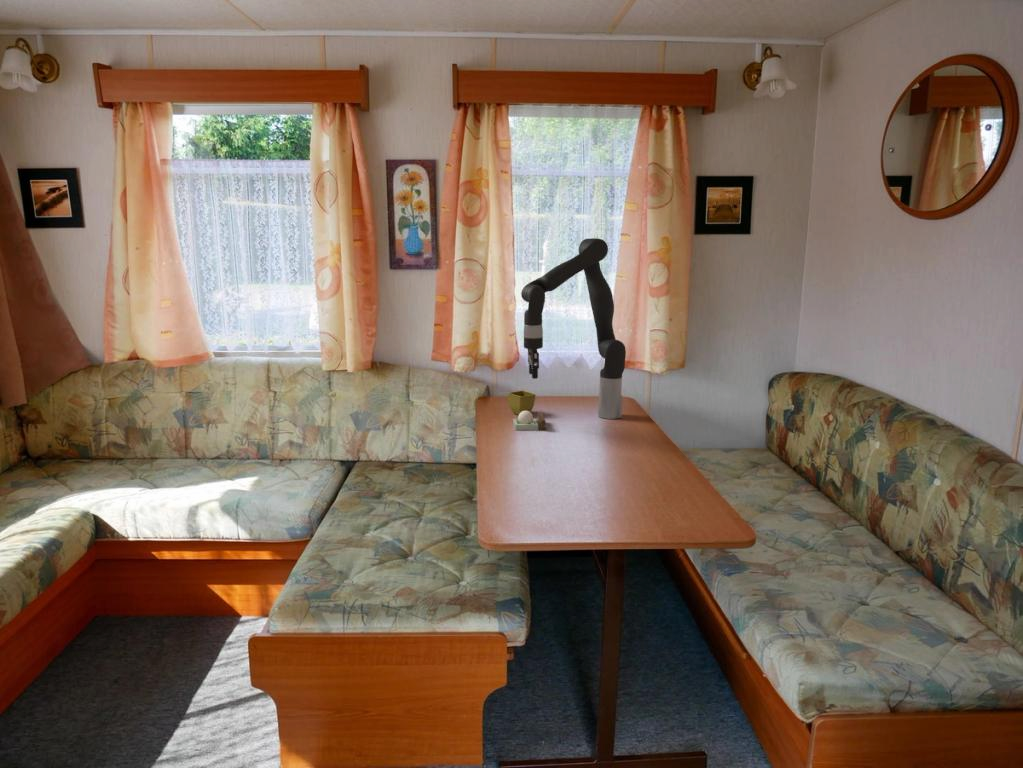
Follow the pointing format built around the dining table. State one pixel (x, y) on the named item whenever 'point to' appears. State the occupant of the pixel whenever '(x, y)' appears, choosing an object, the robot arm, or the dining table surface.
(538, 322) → the robot arm
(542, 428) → the rail
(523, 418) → the ball
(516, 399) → the flower pot
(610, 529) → the dining table surface
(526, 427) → the dish
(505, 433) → the dining table surface
